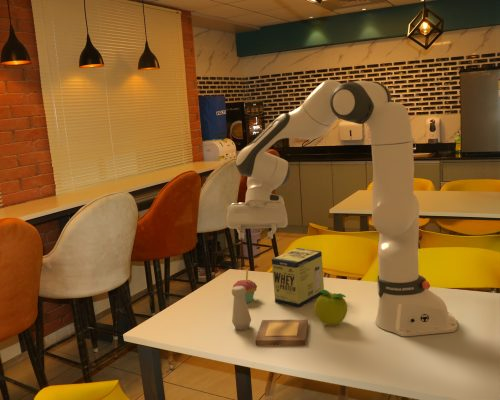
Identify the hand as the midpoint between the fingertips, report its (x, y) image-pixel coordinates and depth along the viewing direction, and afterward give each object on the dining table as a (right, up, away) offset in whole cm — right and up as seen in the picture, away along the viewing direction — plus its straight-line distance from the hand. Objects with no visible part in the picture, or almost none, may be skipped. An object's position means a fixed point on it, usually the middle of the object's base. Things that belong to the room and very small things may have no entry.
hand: (255, 238), depth 165 cm
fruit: (+23, -25, -11) cm, 36 cm away
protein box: (+16, -22, +13) cm, 30 cm away
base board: (+8, -27, -15) cm, 32 cm away
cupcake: (-3, -23, +15) cm, 28 cm away
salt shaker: (-4, -27, -8) cm, 28 cm away
